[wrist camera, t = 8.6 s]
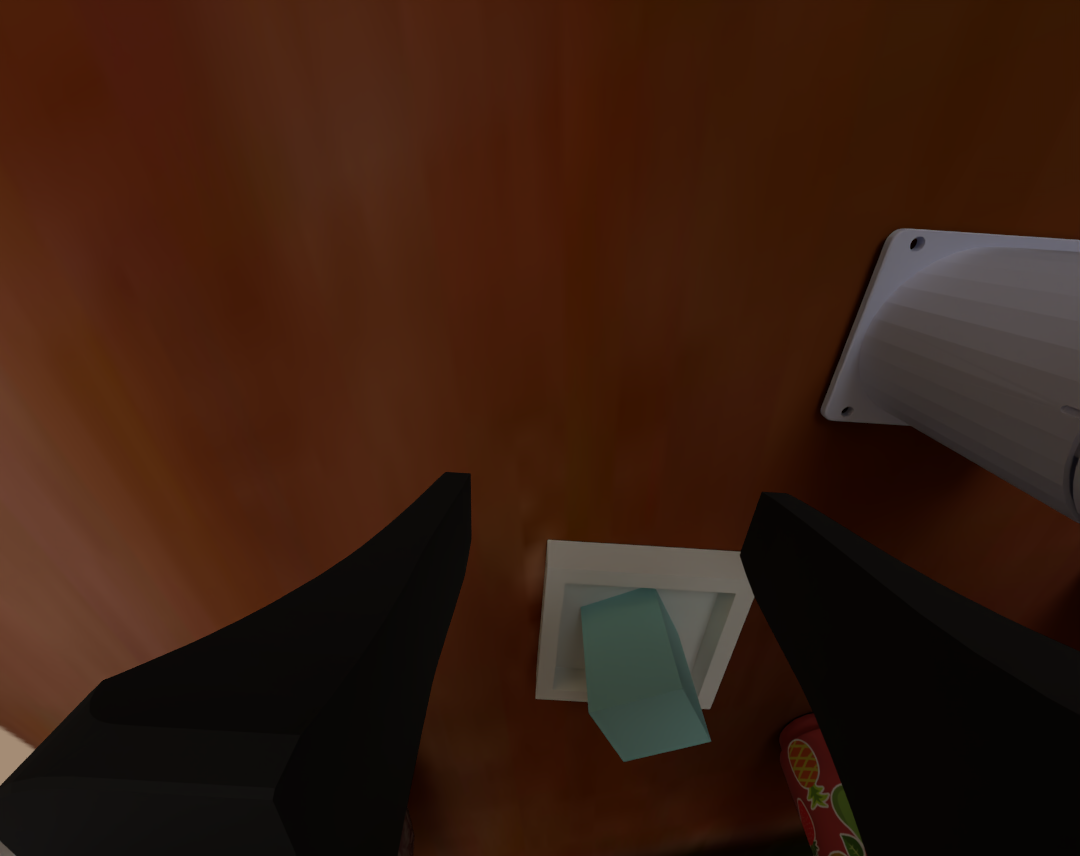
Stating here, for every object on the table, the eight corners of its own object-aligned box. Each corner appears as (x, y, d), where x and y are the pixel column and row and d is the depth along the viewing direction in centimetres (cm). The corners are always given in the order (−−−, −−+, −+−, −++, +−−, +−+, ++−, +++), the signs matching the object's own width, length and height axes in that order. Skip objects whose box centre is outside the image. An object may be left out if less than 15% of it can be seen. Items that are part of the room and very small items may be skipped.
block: (653, 583, 24) (682, 688, 19) (678, 632, 26) (711, 741, 21) (580, 607, 25) (588, 712, 20) (609, 653, 27) (623, 761, 22)
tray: (744, 552, 24) (760, 580, 22) (699, 676, 29) (710, 709, 27) (547, 539, 24) (547, 567, 22) (536, 667, 29) (535, 698, 27)
